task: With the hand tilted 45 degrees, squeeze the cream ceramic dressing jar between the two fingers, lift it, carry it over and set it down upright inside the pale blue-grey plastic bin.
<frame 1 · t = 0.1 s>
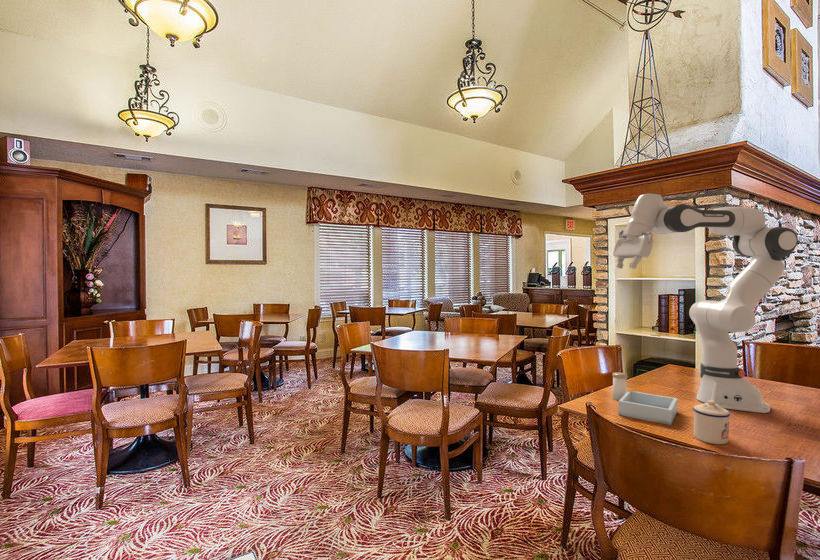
hand: (625, 268, 162), 52 cm above the table, fingers open, 8 cm apart
serving bin: (648, 413, 152), on the table
dressing jar: (619, 398, 168), on the table
teacup with lid: (710, 438, 130), on the table
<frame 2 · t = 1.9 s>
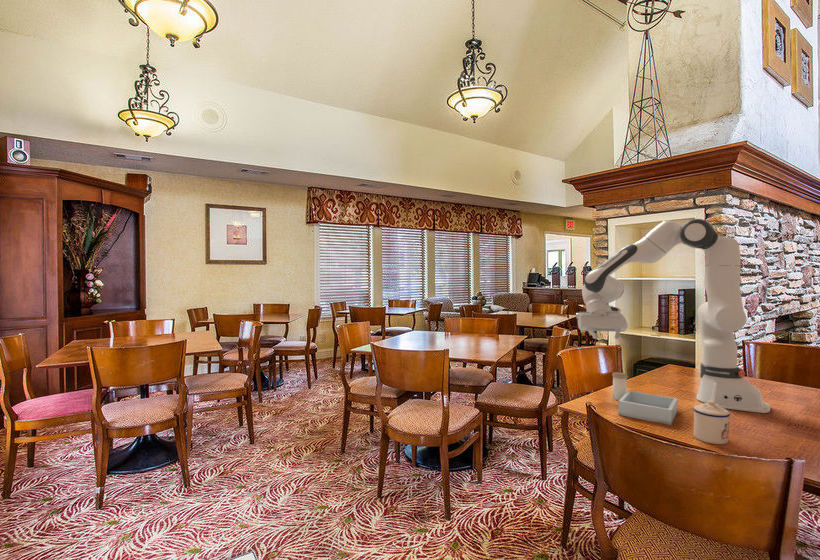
hand: (606, 338, 180), 22 cm above the table, fingers open, 8 cm apart
nothing on the table moved.
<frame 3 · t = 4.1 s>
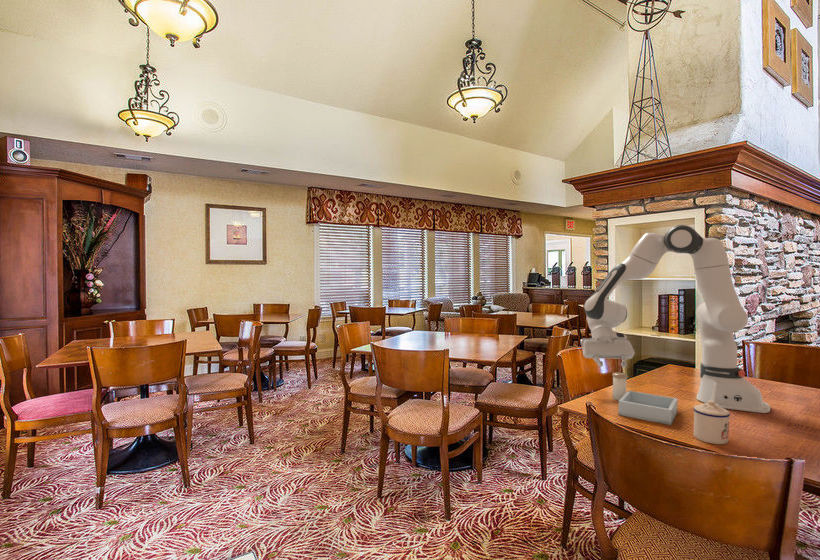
hand: (612, 366, 175), 12 cm above the table, fingers open, 8 cm apart
nothing on the table moved.
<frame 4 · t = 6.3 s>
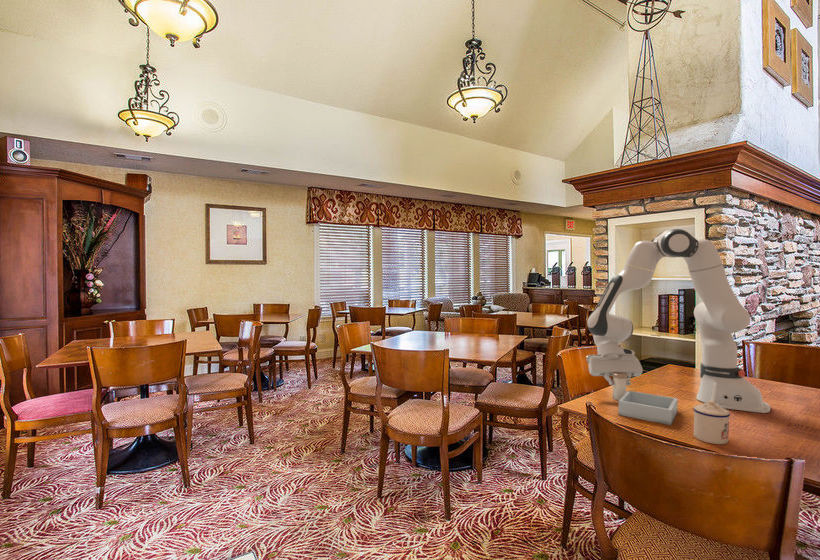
hand: (620, 384, 168), 6 cm above the table, fingers closed on dressing jar, 5 cm apart
dressing jar: (619, 398, 168), on the table, touching gripper
everything else where it was.
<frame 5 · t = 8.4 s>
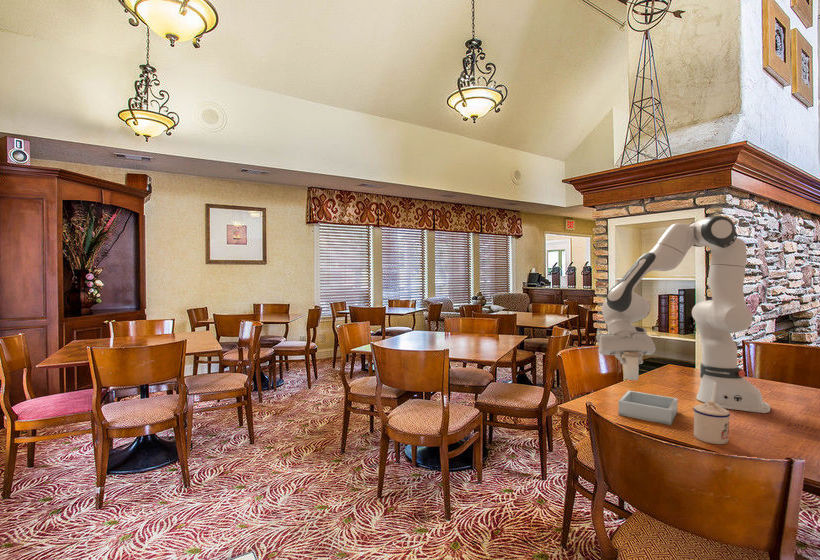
hand: (632, 363, 160), 16 cm above the table, fingers closed on dressing jar, 5 cm apart
dressing jar: (631, 378, 161), point 10 cm above the table, touching gripper
everything else where it was.
when the fingers open (8 cm above the table, at t = 10.8 s): dressing jar drops 1 cm, resting on serving bin.
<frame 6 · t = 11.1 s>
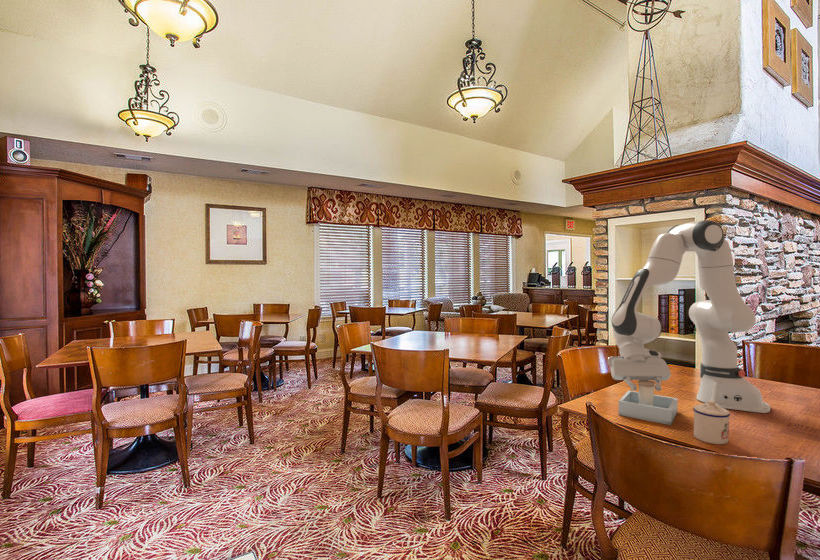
hand: (646, 389, 152), 8 cm above the table, fingers open, 7 cm apart
dressing jar: (645, 409, 153), point 1 cm above the table, touching serving bin
everything else where it was.
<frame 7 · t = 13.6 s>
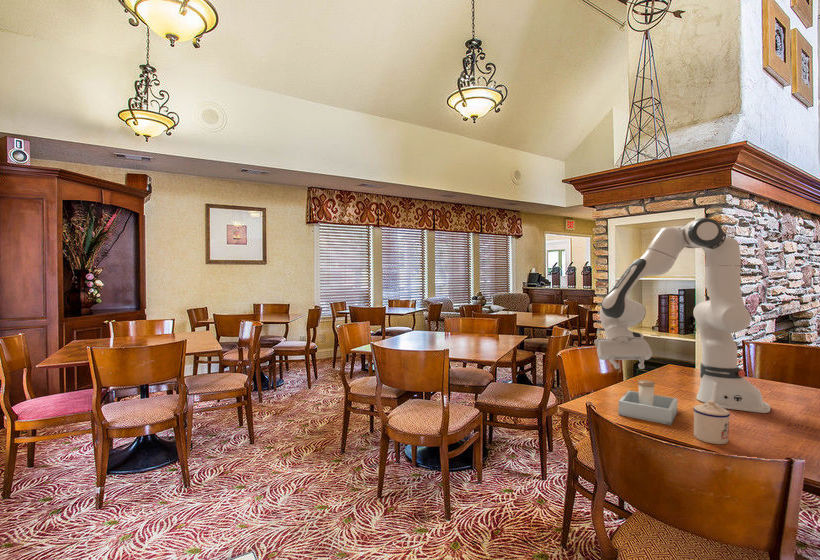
hand: (629, 368, 165), 13 cm above the table, fingers open, 8 cm apart
nothing on the table moved.
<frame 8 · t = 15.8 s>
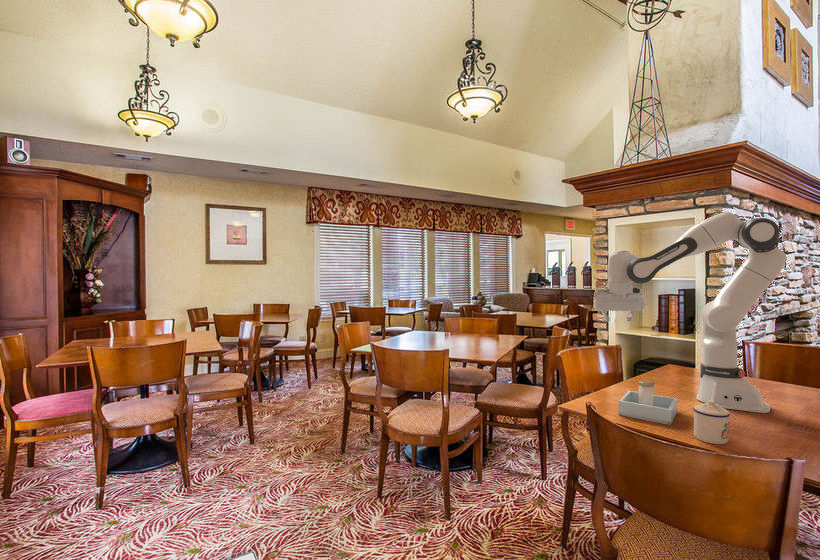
hand: (618, 321, 182), 29 cm above the table, fingers open, 8 cm apart
nothing on the table moved.
at the end: dressing jar inside the target area on the serving bin (1.4 cm from its centre), point 1.0 cm above the serving bin's base; dressing jar tilted 0°; the gripper is holding nothing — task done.
